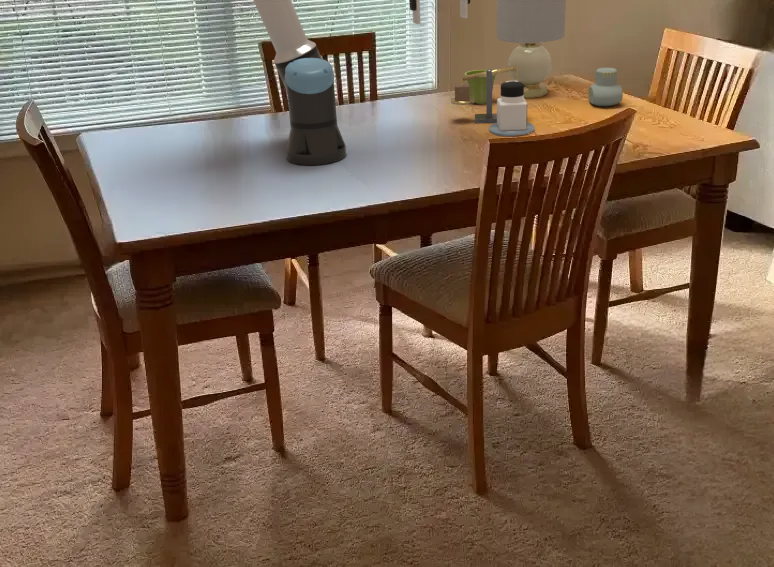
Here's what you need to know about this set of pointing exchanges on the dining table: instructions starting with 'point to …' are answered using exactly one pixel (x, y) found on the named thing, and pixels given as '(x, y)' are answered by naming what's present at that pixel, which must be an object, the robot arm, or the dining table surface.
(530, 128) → the dish
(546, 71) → the lamp
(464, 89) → the balance scale
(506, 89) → the medicine bottle
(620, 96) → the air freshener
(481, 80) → the plant pot
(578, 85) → the dining table surface
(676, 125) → the dining table surface
